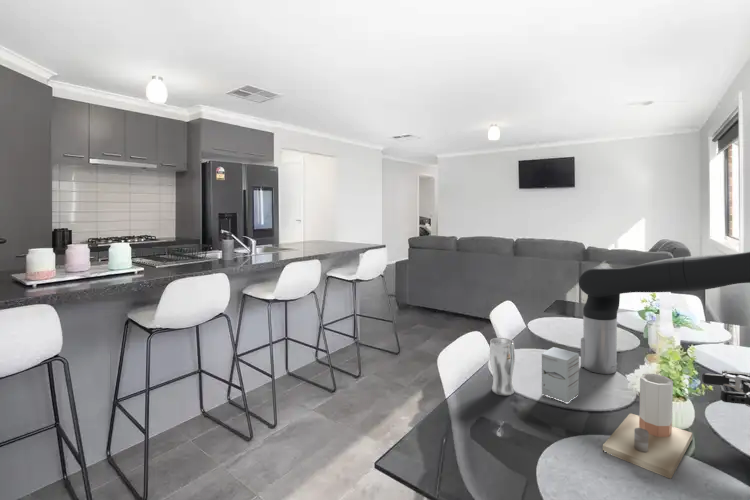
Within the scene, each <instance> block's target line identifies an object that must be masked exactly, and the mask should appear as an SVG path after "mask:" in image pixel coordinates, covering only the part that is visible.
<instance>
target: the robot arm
mask: <svg viewBox="0 0 750 500" xmlns="http://www.w3.org/2000/svg"><path fill="white" fill-rule="evenodd" d="M748 283H749V284H750V251H744V252H738V253H737V252H736V253H728V254H727V253H725V254H703V255H691V256H681V257H680V256H679V257H673V258H665V259H659V260H655V261H650V262H646V263H642V264H639V265H638V264H637V265H633V266H627V267H620V268H614V267H612V266H609V265H605V264H601V265H596V266H593V267H590V268H588V269H586V270H585V271H584V272H583V273H582V274H581V275H580V276H579V280H578V286H579V289H581V291H582V292H583V293H584V294H586V295H587V298H586V301H585V304H584V306H583V309H582V314H583V321H582V322H583V323H582V325H583V327H582V328H583V329H582V330H583V331H582V332H583V334H582V336H583V337H581V338H580V367H581V368H583V367H584V368H583V369H585V370H587V371H589V372H593V373H596V374H601V375H603V374H604V375H610V374H615V373H616V372H617V365H618V363H617V356H618V355H617V353H618V352H617V351H618V349H617V347H618V346H617V345H618V343H617V342H618V341H617V340H618V339H617V338H618V330H617V329H618V310H619V308H620V298H621V295H623V294H629V293H630V294H631V293H683V292H694V291H695V292H696V291H705V290H711V289H712V290H713V289H717V288H721V287H726V286H730V285H731V286H732V285H738V284H748ZM701 377H702V378H701V382H703V383H704V384H707V385H716V386H725V387H728V388H733V389H734V391H732V390H731V391H730V390H721V391H720V400H721V401H722V402H723V403H729V404H730V403H731V404H738V405H745V406H746V407H747V408H748V407H749V408H750V372H742V371H735V370H734V371H733V370H721V374H717V373H705V372H704V373H702V376H701Z"/></svg>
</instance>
